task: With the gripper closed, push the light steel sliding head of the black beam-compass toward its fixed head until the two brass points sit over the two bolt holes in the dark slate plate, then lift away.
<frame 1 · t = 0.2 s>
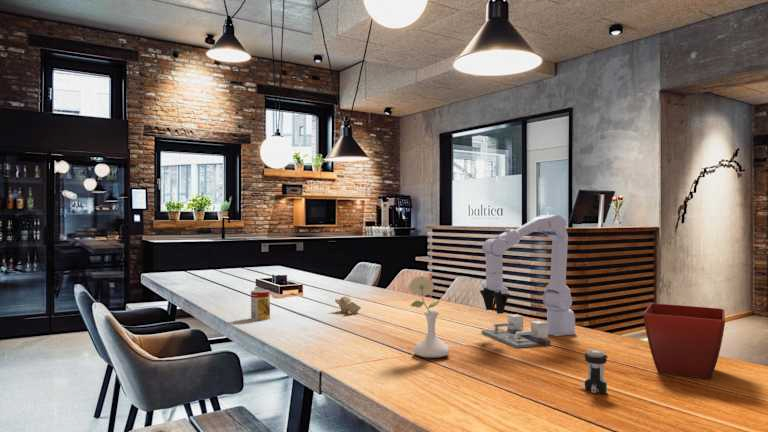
hand: (494, 311, 189), 10 cm above the table, tool pointing down, fingers open, 7 cm apart
canned food: (260, 319, 231), on the table
flower in vase: (429, 356, 168), on the table
sliding divider leg: (530, 330, 184), point 4 cm above the table, slide at 15.0 cm
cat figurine: (347, 313, 245), on the table
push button: (593, 391, 133), on the table
bolt hole plate: (508, 339, 190), on the table
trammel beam: (527, 337, 192), on the table
plant pot: (684, 371, 150), on the table
fixed divider leg: (515, 333, 200), resting on bolt hole plate
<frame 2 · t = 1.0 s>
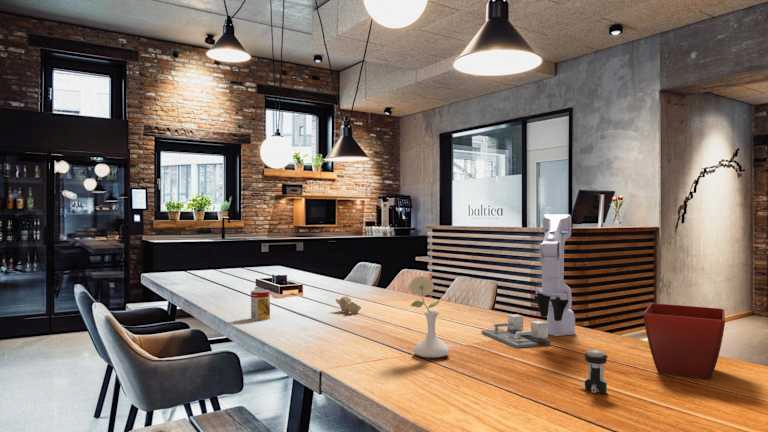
hand: (551, 318, 178), 9 cm above the table, tool pointing down, fingers open, 7 cm apart
nothing on the table moved.
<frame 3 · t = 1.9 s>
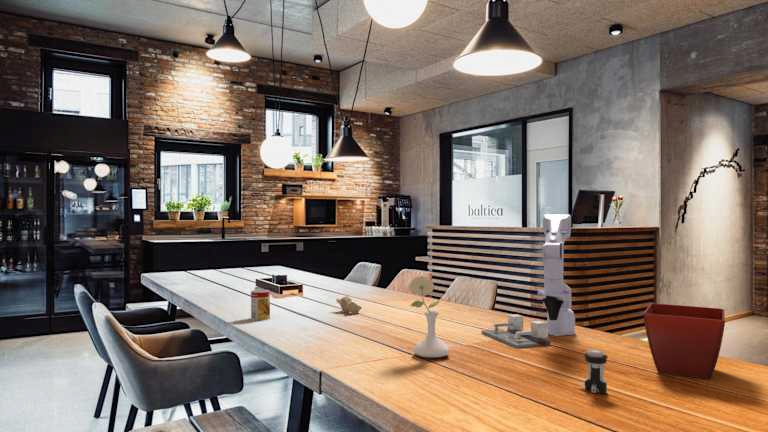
hand: (553, 319, 178), 9 cm above the table, tool pointing down, fingers closed
nothing on the table moved.
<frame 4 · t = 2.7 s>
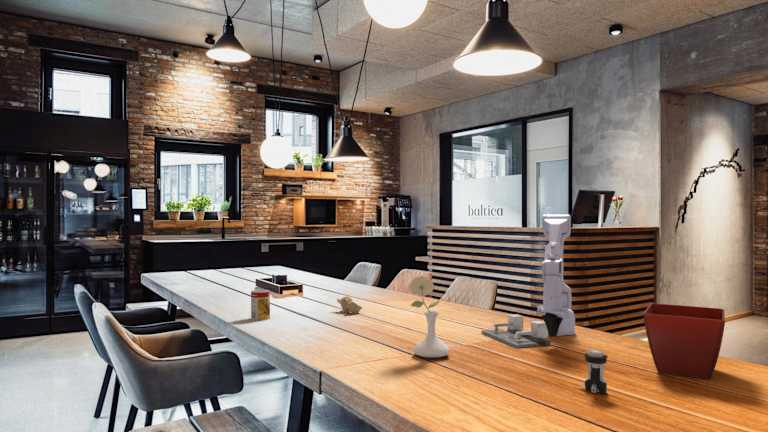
hand: (552, 336, 178), 3 cm above the table, tool pointing down, fingers closed
nothing on the table moved.
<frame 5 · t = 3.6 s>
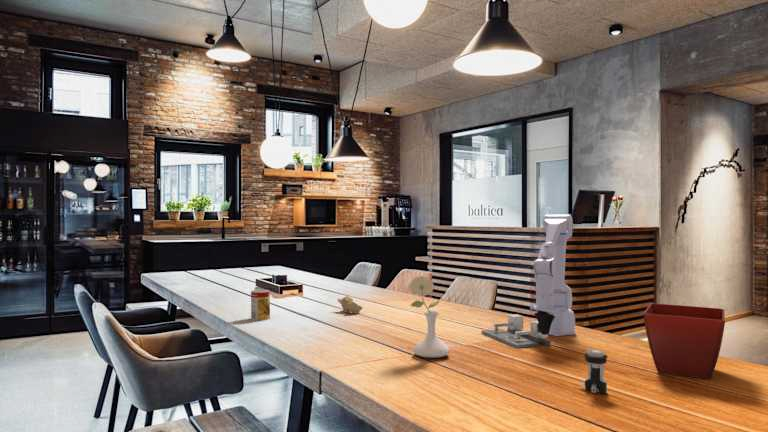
hand: (545, 334, 182), 3 cm above the table, tool pointing down, fingers closed
sliding divider leg: (529, 330, 185), point 4 cm above the table, slide at 14.7 cm, touching gripper
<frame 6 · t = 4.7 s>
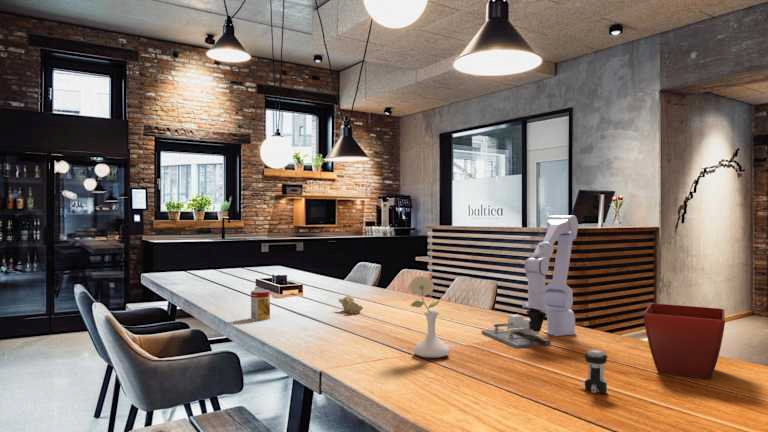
hand: (536, 331, 187), 3 cm above the table, tool pointing down, fingers closed
sliding divider leg: (522, 327, 189), point 4 cm above the table, slide at 9.9 cm, touching gripper
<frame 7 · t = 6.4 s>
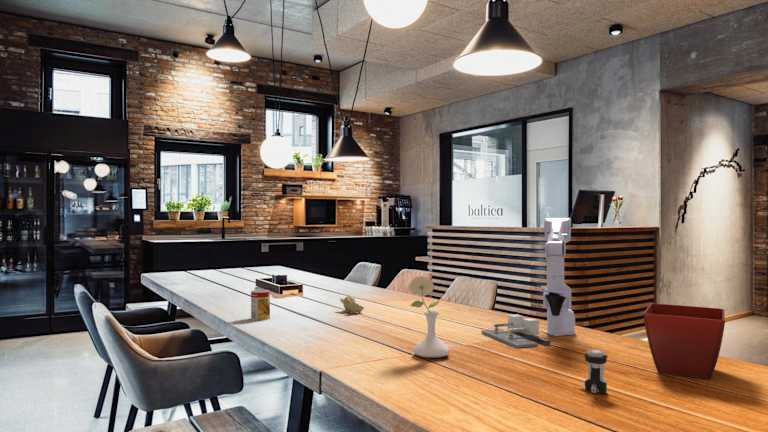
hand: (555, 315, 184), 9 cm above the table, tool pointing down, fingers closed
sliding divider leg: (522, 327, 189), point 4 cm above the table, slide at 9.9 cm
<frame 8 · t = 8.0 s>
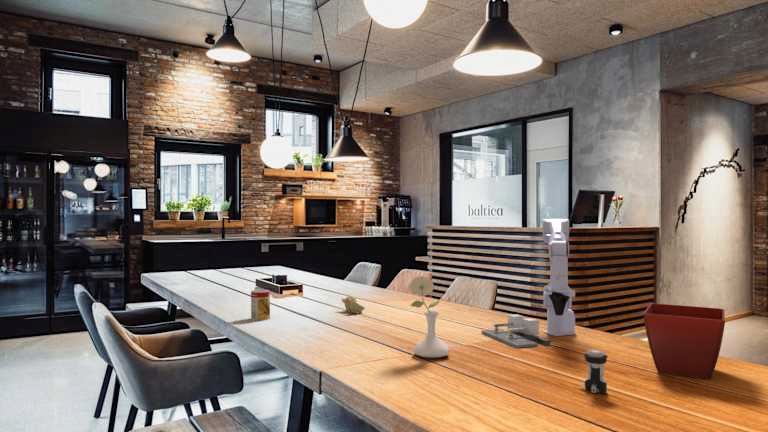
hand: (559, 315, 185), 9 cm above the table, tool pointing down, fingers closed
at the end: sliding divider leg slide at 9.9 cm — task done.
